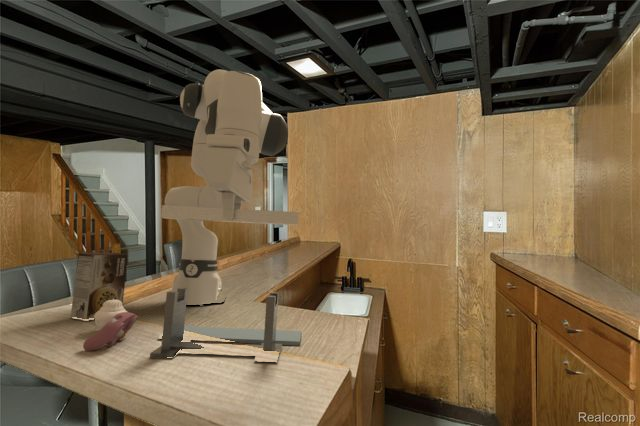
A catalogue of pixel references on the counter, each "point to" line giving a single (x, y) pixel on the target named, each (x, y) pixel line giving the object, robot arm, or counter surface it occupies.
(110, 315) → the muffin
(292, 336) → the slate mat
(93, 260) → the coffee box
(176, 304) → the rail rack
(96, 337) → the video game controller
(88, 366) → the counter surface
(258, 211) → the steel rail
